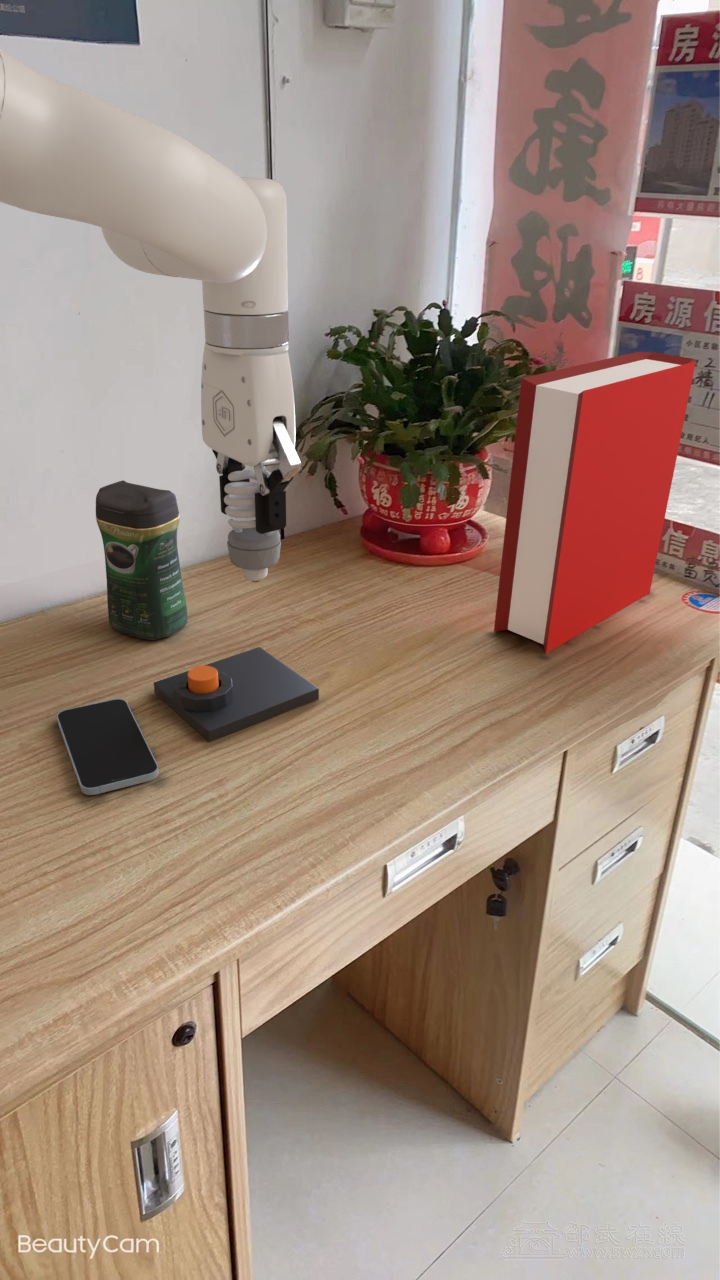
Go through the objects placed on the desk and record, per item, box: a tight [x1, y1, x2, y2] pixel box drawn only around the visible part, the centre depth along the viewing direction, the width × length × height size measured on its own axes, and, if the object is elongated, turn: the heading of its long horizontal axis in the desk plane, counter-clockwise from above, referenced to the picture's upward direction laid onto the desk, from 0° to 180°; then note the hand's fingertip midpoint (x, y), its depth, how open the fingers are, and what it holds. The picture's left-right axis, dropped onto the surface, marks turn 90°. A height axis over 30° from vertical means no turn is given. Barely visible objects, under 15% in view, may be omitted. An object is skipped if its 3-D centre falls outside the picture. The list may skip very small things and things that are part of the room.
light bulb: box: [224, 467, 282, 583], centre depth 88 cm, size 6×6×12 cm
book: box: [493, 351, 697, 654], centre depth 112 cm, size 27×8×32 cm, turn 135°
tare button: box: [188, 665, 219, 694], centre depth 94 cm, size 3×3×2 cm
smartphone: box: [56, 698, 160, 796], centre depth 89 cm, size 7×1×15 cm
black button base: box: [153, 646, 320, 743], centre depth 98 cm, size 14×12×3 cm
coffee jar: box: [95, 480, 189, 641], centre depth 108 cm, size 10×8×19 cm
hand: (253, 518), depth 88 cm, fingers closed on light bulb, 5 cm apart
